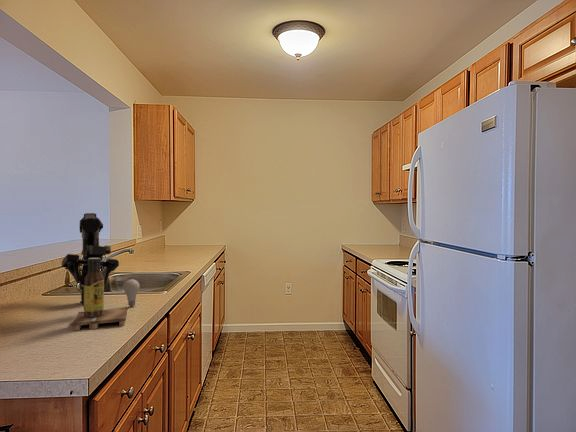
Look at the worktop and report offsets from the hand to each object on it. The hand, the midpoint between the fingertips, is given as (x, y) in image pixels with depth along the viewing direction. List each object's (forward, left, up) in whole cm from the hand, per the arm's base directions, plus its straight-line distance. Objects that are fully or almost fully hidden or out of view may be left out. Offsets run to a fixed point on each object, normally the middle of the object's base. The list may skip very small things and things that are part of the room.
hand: (91, 283), depth 144 cm
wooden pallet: (+3, +10, -12) cm, 16 cm away
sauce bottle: (+5, +8, -10) cm, 13 cm away
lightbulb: (-17, +1, -12) cm, 21 cm away
